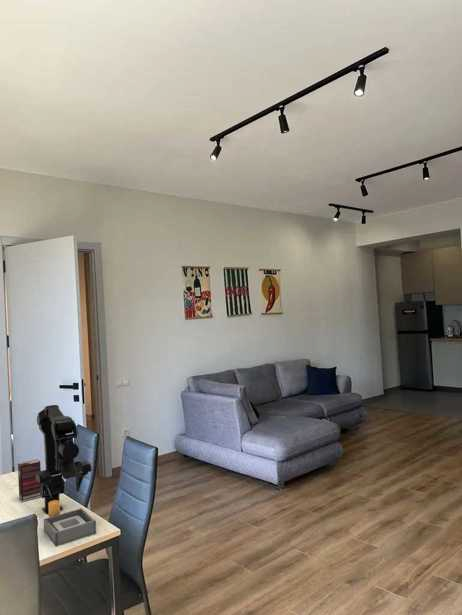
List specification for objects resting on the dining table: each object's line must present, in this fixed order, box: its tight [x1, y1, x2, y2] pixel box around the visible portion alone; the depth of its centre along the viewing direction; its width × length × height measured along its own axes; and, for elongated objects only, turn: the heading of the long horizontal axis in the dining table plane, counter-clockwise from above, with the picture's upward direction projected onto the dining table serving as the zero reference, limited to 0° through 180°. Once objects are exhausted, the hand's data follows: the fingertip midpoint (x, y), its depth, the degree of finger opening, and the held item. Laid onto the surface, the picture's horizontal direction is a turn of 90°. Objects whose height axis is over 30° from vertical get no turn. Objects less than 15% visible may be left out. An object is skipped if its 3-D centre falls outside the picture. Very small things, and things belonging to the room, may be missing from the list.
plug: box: [48, 500, 61, 518], centre depth 171 cm, size 4×4×8 cm
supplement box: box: [17, 459, 42, 503], centre depth 198 cm, size 9×5×16 cm, turn 128°
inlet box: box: [43, 507, 97, 547], centre depth 163 cm, size 15×14×4 cm
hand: (65, 494), depth 166 cm, fingers open, 9 cm apart
